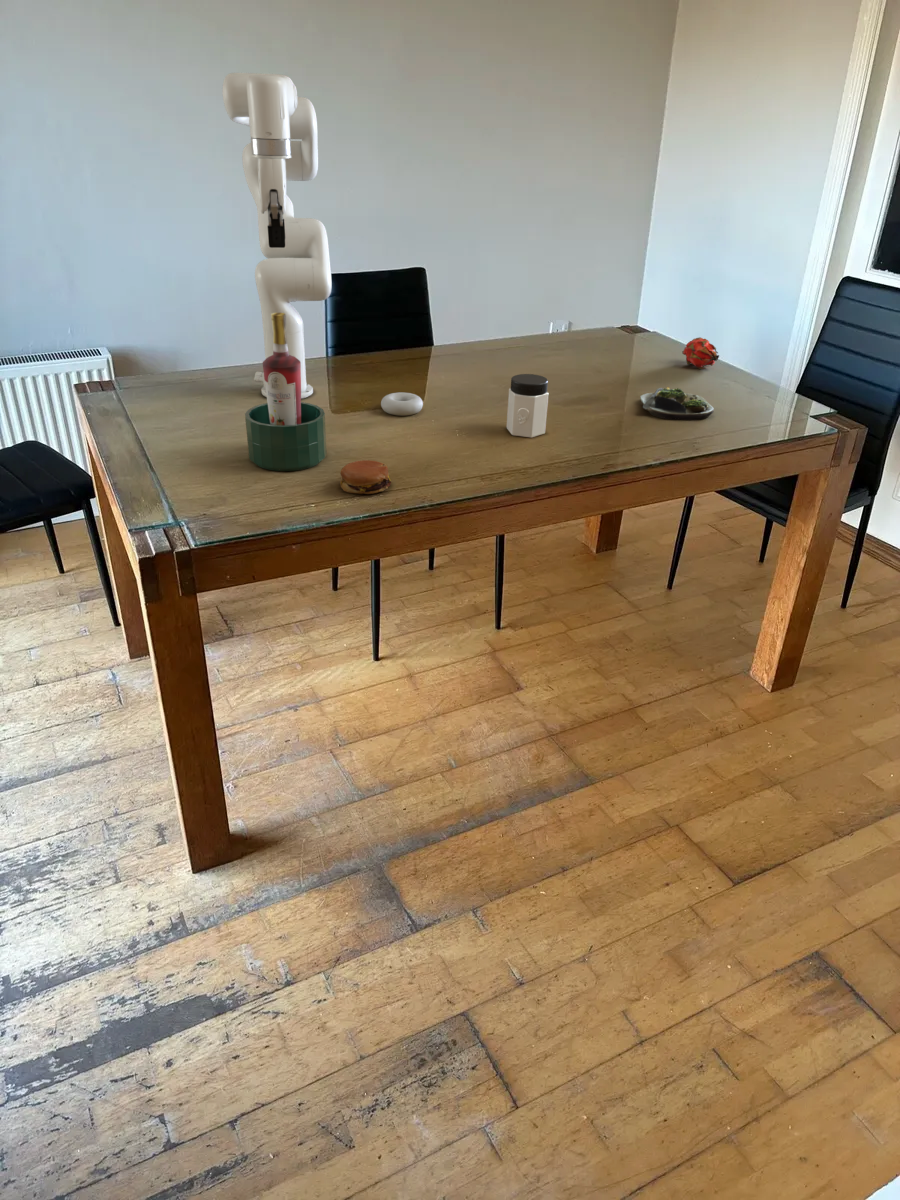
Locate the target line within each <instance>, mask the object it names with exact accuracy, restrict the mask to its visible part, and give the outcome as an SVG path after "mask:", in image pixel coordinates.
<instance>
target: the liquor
mask: <svg viewBox="0 0 900 1200" xmlns="http://www.w3.org/2000/svg"><path fill="white" fill-rule="evenodd" d="M271 319H272V326H273V355H272V356H269V357H268V358H266V359H264V360H263V361H262V362H261V363H262V371H263V373H264V380H265V389H266V396H267V397H266V403H268V410H269V418H270V425H296V424H301V402H302V399H301V362H300V361H299V360H298V359H297V358H296V357H294V356H291V355H289V352H288V345H287V339H286V333H285V328H286V315H285V313H272V314H271Z"/></svg>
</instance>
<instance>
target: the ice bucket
mask: <svg viewBox="0 0 900 1200" xmlns="http://www.w3.org/2000/svg"><path fill="white" fill-rule="evenodd" d="M244 418H245V419H244V420H245V429H246V430H245V431H246V440H247V441H246V442H247V451H248V459H249V460H250V462H252V463H254V464H255V465H256V466H258V467H260V468H262V469H266V470H269V471H275V472H294V471H301V470H307V469H309V468H310V469H311V468H312V467H315V466H317V465H318V464H320V463H321V462H322V461H323V460H324V459H325V458H326V457H327V431H326V413H325V411H324V409H323V408H322V407H320V406H318V405H317V404H314V403H309V402H303V401H301V424H296V425H270V418H269V410H268V402H265V403H261V404H257V405H255V406H252V407H251V408H249V409H247V410H246V411H245V413H244Z"/></svg>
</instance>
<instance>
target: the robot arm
mask: <svg viewBox="0 0 900 1200" xmlns="http://www.w3.org/2000/svg"><path fill="white" fill-rule="evenodd" d="M296 86H297V85H296V84H294V82H293V80H292V78H290V77H289V76H288V75H285V74H281V73H263V72H262V73H258V72H231V73H228V74H226V75H225V76H224V79H223V83H222V100H223V104H224V105H223V106H224V108H225V111H226V114H227V116H228V117H229V119H230V121H232V122H234V123H236V124H240V125H243V126H247V127H249V133H250V135H249V136H250V142H248V143H247V144H246V145H245V146H244V148H243V150H242V153H241V154H242V157H241V158H242V167H243V173H244V177H245V181H246V184H247V186H248V189H249V191H250V194H251V196H252V198H253V200H254V203H255V206H256V210H257V226H258V240H259V247H260V251H261V253H262V255H263V256H264V257H265V259H262V260H260V261H259V262H258V263H257V264H256V266H255V270H254V278H255V280H254V281H255V285H256V289H257V294H258V298H259V304H260V312H261V320H262V331H263V333H262V334H263V347H264V356H265V357H264V358H265V359H266V358H268V357H269V356H272V355H273V326H272V319H271V314H272V313H285V315H286V328H285V333H286V339H287V345H288V352H289V355H291V356H294V357H296V358H297V359H298V360H299V361H300V362H301V400H302V399H305V398H308V397H310V396H312V395H313V393H314V387H313V386H312V385H311V384H310V383H307V370H306V369H307V368H306V351H305V334H304V333H305V332H304V321H303V318H302V315H301V314H300V313H299V311H298V310H297V309H296V308H295V306H294V305H292V303H295V302H323V301H326V300H328V298H329V297H330V296H331V293H332V285H333V283H332V271H331V270H332V269H331V259H330V249H329V248H330V246H329V239H328V233H327V228H326V227H325V225H324V223H323V222H322V221H321V220H319V219H317V218H314V217H313V218H312V217H295V211H294V210H295V209H294V204H293V203H294V202H292V200H291V198H290V197H289V195H288V194H287V182H309V181H312V180H315V178H316V177H317V174H318V171H319V143H318V142H319V141H318V140H319V139H318V133H319V132H318V119H317V114H316V109H315V106H314V104H313V102H312V101H311V100H310V99H309V98H307V97H306V96H305V97H304V96H298V89H297V87H296ZM265 359H264V360H265ZM253 381H254V382H257V383H262V384H263V386H262V387H261V388H260V389H261V394H262V396H264V397H265V398H267V396H266V389H265V380H264V371H263V372H262V371H256V372H255V373H254V378H253Z"/></svg>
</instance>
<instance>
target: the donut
mask: <svg viewBox="0 0 900 1200" xmlns="http://www.w3.org/2000/svg"><path fill="white" fill-rule="evenodd" d="M380 407H381V408H382V410H383V411H384V412H385V413H387V414H389V415H393V416H398V417H399V416H401V417H404V416H412V415H415V414H418V413H419V412H421V410H422V409H423V407H424V401H423V399H422V398H421V396H419V395H417V394H415V393H411V392H401V391H400V392H392V393H389V394H388V393H387V394H386V395H385V396H383V397H382V398H381V402H380Z"/></svg>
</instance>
